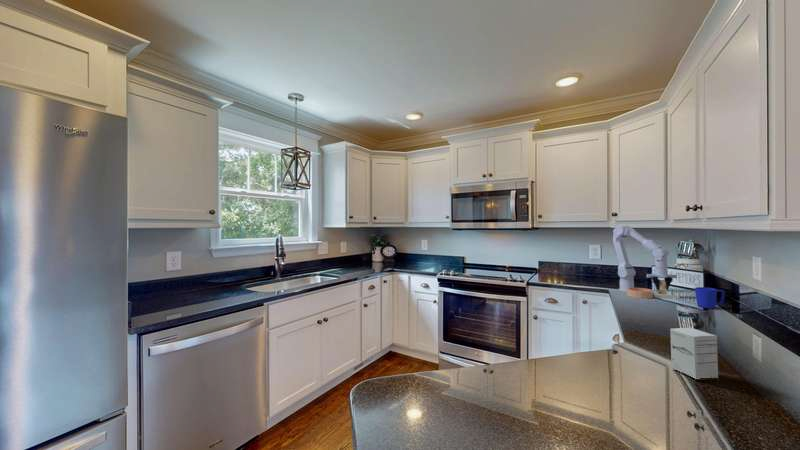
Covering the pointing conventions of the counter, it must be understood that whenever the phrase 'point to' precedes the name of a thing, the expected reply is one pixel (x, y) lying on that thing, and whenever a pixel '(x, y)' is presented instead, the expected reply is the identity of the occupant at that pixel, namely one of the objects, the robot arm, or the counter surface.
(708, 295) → the mug
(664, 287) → the peg
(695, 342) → the supplement box
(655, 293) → the tray
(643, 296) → the orange peg base
